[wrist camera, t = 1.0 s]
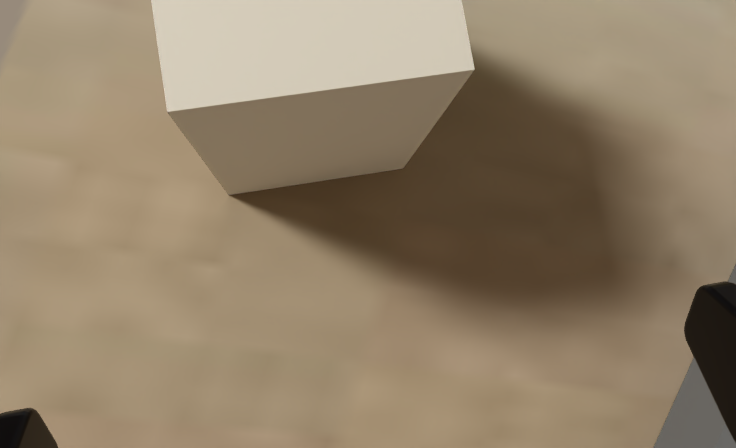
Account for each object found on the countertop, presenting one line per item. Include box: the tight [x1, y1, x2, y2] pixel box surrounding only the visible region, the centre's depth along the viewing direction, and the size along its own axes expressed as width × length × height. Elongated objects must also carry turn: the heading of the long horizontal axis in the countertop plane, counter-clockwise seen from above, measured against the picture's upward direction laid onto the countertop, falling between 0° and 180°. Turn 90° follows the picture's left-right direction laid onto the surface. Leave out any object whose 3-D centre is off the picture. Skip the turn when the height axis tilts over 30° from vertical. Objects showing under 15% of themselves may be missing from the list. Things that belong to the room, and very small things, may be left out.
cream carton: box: [151, 0, 475, 195], centre depth 18 cm, size 6×6×10 cm
